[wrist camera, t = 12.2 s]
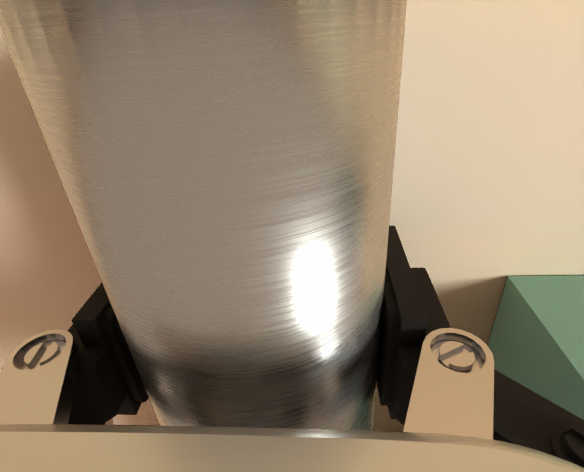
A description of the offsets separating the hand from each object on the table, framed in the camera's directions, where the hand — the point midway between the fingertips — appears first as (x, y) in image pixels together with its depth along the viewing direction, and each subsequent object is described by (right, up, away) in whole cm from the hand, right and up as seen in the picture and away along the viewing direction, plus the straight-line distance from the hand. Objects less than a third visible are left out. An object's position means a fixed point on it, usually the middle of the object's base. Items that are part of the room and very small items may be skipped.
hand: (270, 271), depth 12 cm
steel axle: (0, -3, -1) cm, 3 cm away
